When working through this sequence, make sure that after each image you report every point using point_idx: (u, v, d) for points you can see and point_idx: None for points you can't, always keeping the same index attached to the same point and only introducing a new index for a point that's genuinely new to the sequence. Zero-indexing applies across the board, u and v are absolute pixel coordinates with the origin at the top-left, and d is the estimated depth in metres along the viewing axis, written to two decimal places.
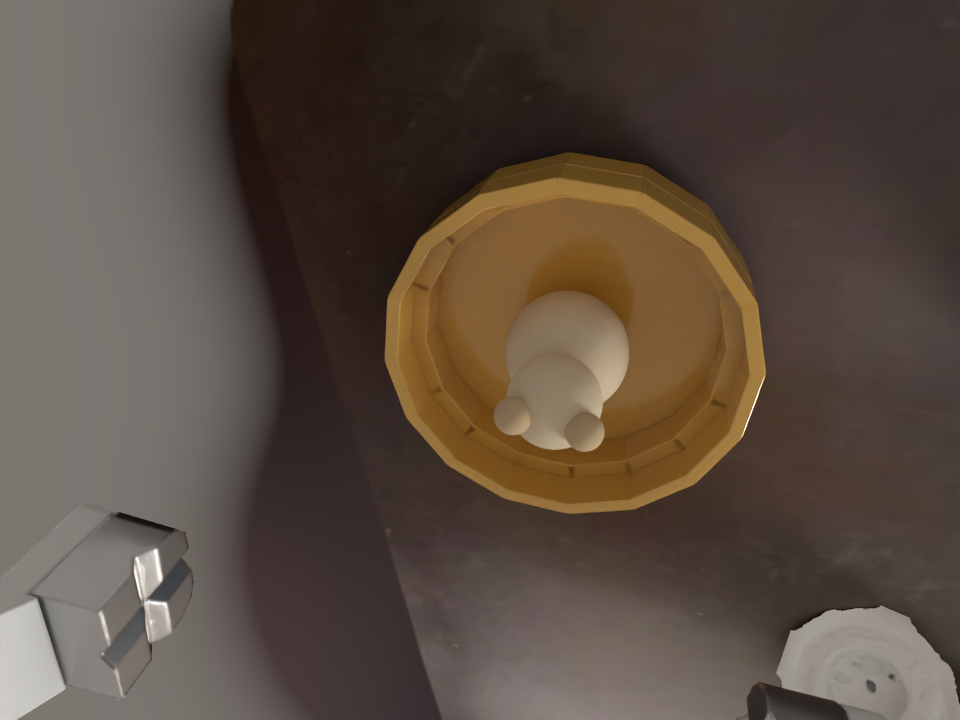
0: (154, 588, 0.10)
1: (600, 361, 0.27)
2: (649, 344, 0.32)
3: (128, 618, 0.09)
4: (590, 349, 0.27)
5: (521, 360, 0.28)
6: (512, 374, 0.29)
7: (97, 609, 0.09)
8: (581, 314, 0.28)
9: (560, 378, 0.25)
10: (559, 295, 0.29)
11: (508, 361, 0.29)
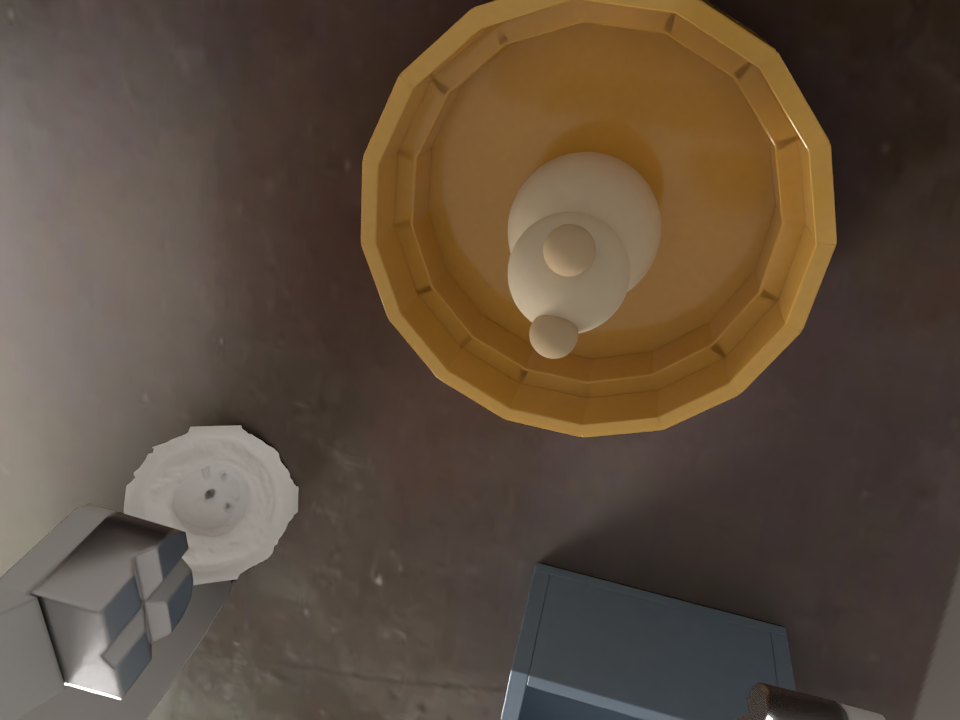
0: (154, 588, 0.10)
1: None
2: None
3: (128, 618, 0.09)
4: None
5: (595, 203, 0.22)
6: (567, 183, 0.22)
7: (97, 608, 0.09)
8: (649, 262, 0.23)
9: (618, 299, 0.20)
10: None
11: (583, 174, 0.22)
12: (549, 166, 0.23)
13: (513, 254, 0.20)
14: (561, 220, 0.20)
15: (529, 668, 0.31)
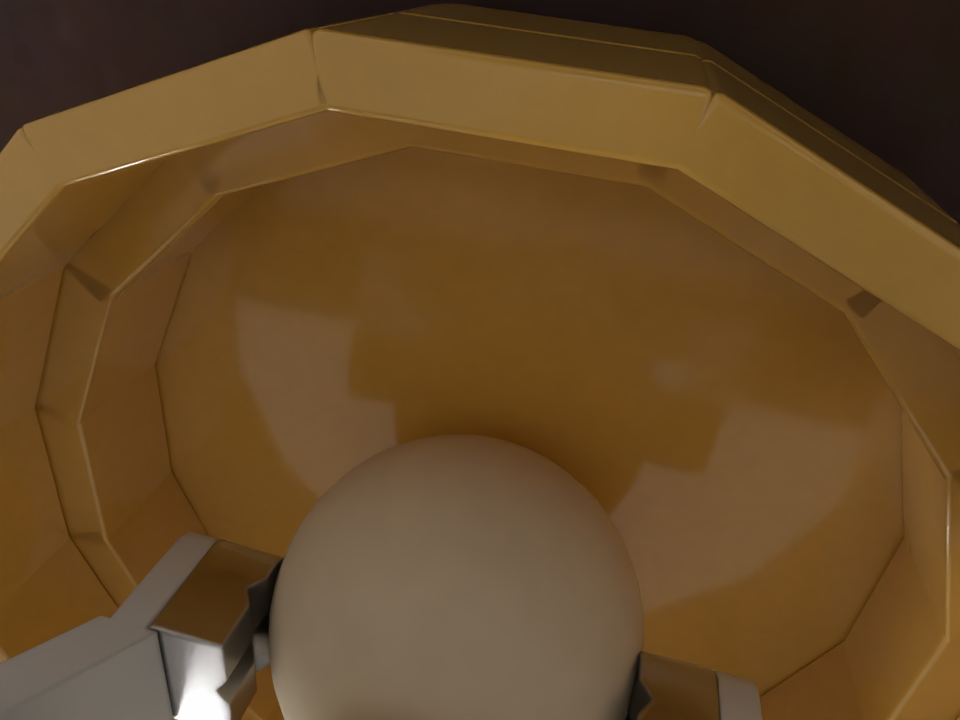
0: (261, 618, 0.10)
1: None
2: None
3: (243, 651, 0.09)
4: None
5: (452, 670, 0.08)
6: (380, 595, 0.08)
7: (219, 643, 0.08)
8: None
9: None
10: (643, 623, 0.09)
11: (423, 567, 0.08)
12: (351, 506, 0.09)
13: None
14: None
15: None
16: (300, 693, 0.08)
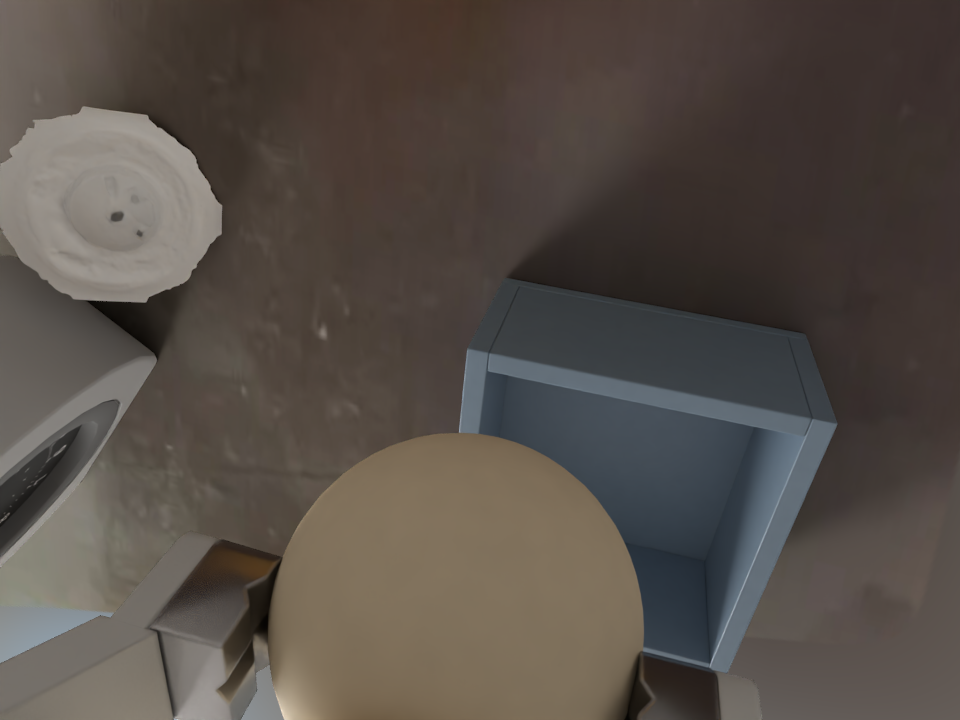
0: (261, 618, 0.10)
1: None
2: None
3: (242, 651, 0.09)
4: None
5: (452, 669, 0.07)
6: (379, 593, 0.08)
7: (219, 643, 0.08)
8: None
9: None
10: (642, 621, 0.09)
11: (422, 565, 0.08)
12: (350, 505, 0.09)
13: None
14: None
15: (490, 348, 0.25)
16: (298, 691, 0.08)
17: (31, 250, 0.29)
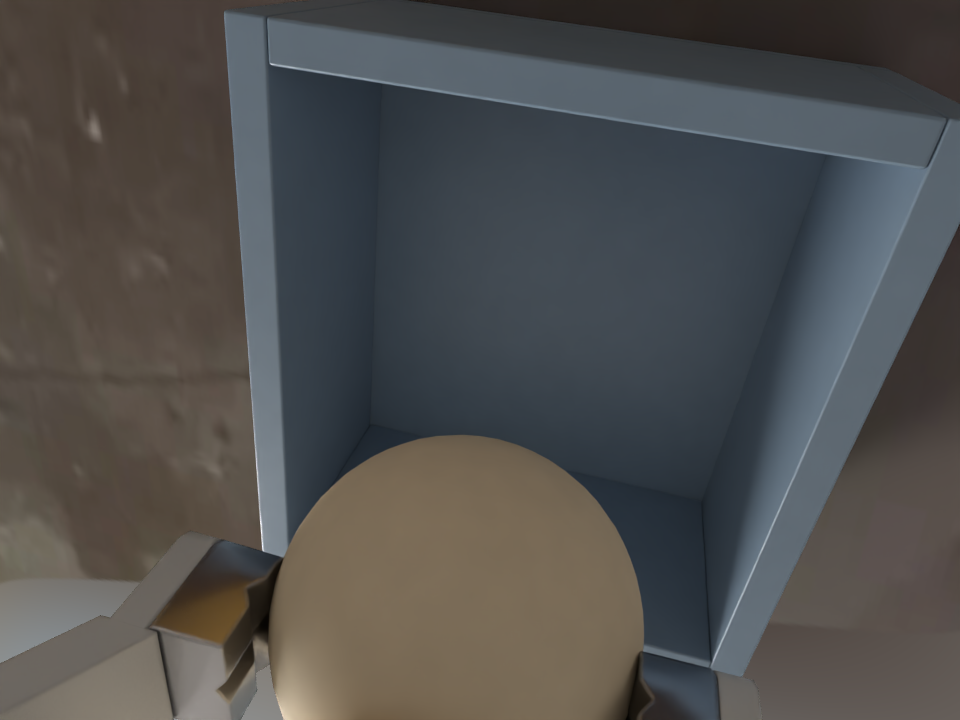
0: (261, 618, 0.10)
1: None
2: None
3: (242, 651, 0.09)
4: None
5: (451, 671, 0.07)
6: (379, 595, 0.08)
7: (219, 643, 0.08)
8: None
9: None
10: (642, 623, 0.09)
11: (423, 568, 0.08)
12: (351, 507, 0.09)
13: None
14: None
15: (273, 14, 0.12)
16: (298, 693, 0.08)
17: None
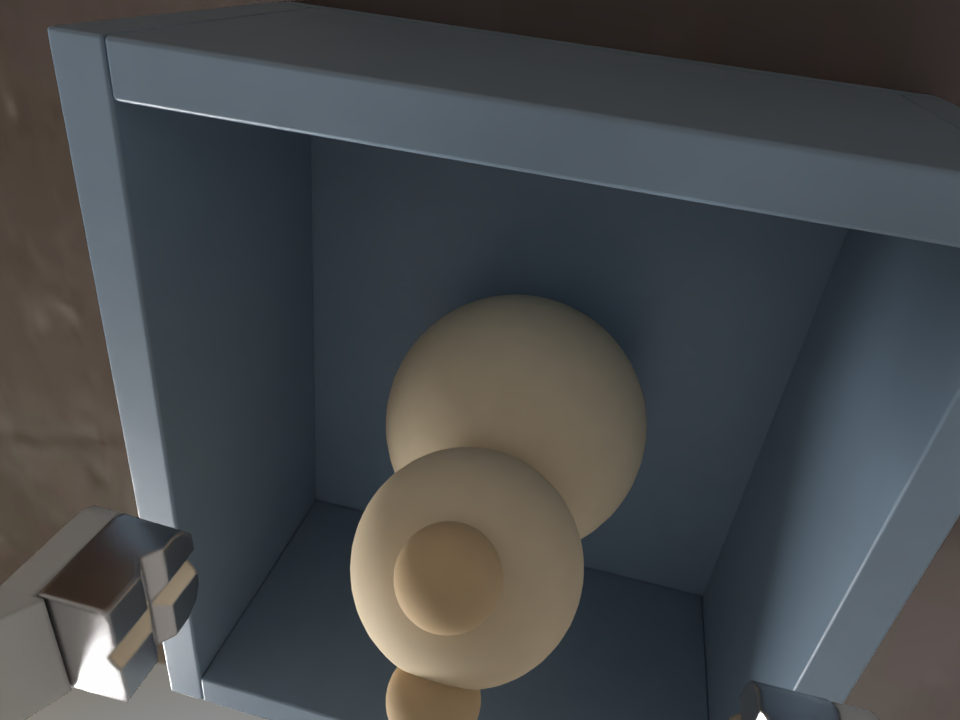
0: (160, 589, 0.10)
1: None
2: None
3: (135, 620, 0.09)
4: None
5: (523, 415, 0.12)
6: (474, 373, 0.12)
7: (104, 610, 0.09)
8: (625, 494, 0.13)
9: (556, 640, 0.10)
10: None
11: (502, 356, 0.12)
12: (448, 329, 0.13)
13: (355, 540, 0.10)
14: (442, 490, 0.10)
15: (118, 32, 0.09)
16: (418, 443, 0.12)
17: None
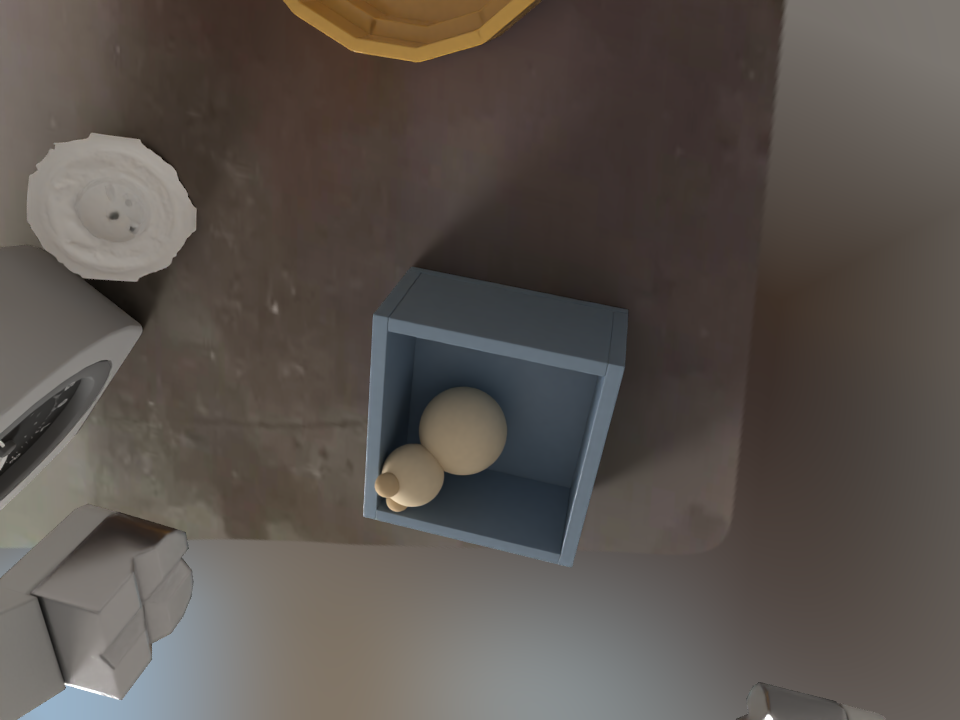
0: (154, 588, 0.10)
1: None
2: None
3: (128, 618, 0.09)
4: (456, 474, 0.41)
5: (435, 445, 0.40)
6: (429, 427, 0.40)
7: (98, 608, 0.09)
8: (477, 470, 0.41)
9: (418, 504, 0.40)
10: (491, 452, 0.40)
11: (437, 426, 0.39)
12: (434, 405, 0.40)
13: (386, 459, 0.41)
14: (396, 463, 0.39)
15: (390, 314, 0.35)
16: (419, 434, 0.41)
17: (51, 240, 0.38)
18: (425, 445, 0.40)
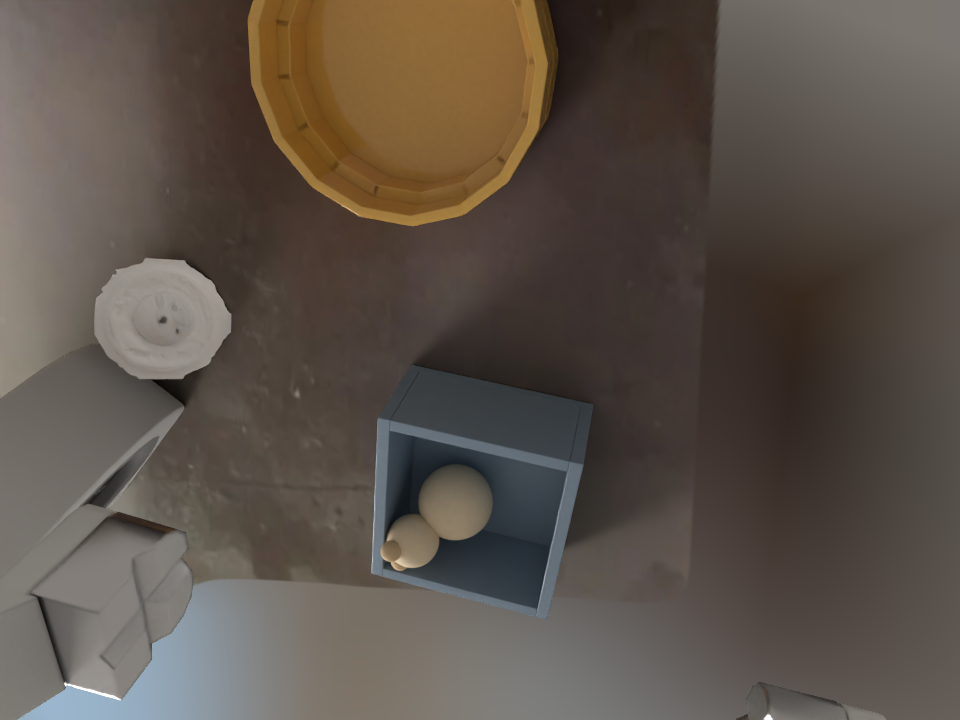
0: (154, 588, 0.10)
1: None
2: (408, 129, 0.40)
3: (128, 618, 0.09)
4: None
5: (431, 517, 0.47)
6: (426, 501, 0.47)
7: (97, 608, 0.09)
8: (467, 537, 0.48)
9: (417, 566, 0.47)
10: (478, 523, 0.47)
11: (432, 501, 0.47)
12: (431, 482, 0.48)
13: None
14: (398, 533, 0.47)
15: (391, 417, 0.43)
16: (418, 505, 0.49)
17: (113, 349, 0.46)
18: (423, 516, 0.48)
